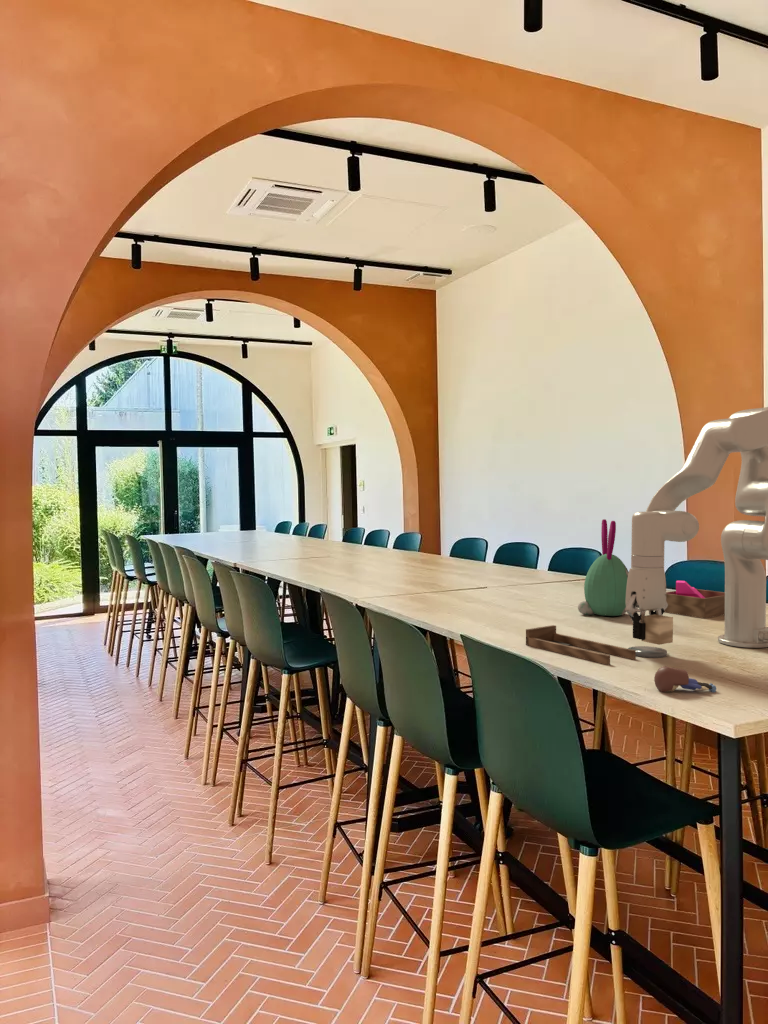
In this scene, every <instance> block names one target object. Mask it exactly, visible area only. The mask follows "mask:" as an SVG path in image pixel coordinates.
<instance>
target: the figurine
mask: <svg viewBox="0 0 768 1024" xmlns="http://www.w3.org/2000/svg"><path fill="white" fill-rule="evenodd" d="M653 681H654V685H655V687H656V689H657V690H658V691H660V692H661V693H666V692H668V693H672V692H675V691H676V690H677V688H679V686H680V687H681V688H682V689H683V690H691V691H695V690H702V691H710V692H711V693H716V692H717V686H716V685H715V684H713V683H708V682H707V683H706V682H701V681H698V680H696V678H691V677H690V675H689V673H688V671H687V670H686V669H682V668H675V667H672V666H671V667H670V666H668V665H667V666H666V665H665V666H661V667H659V668H658V670H656V672H655V674H654V680H653Z"/></svg>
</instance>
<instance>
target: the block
mask: <svg viewBox="0 0 768 1024" xmlns="http://www.w3.org/2000/svg"><path fill="white" fill-rule="evenodd" d="M643 623H645V640H641V639H640V640H641V642H645V643H649V644H654V645H665V644H671V643H673V642H674V640H673V639H674V638H673V636H674V617H673V616H667V615H656V614H654V615H649V614H648V615H647V614H646V615H645V617H644V622H643Z"/></svg>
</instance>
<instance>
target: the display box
mask: <svg viewBox="0 0 768 1024" xmlns="http://www.w3.org/2000/svg"><path fill="white" fill-rule="evenodd" d="M696 589H697V590H698V591H699V592H700V593H701V594H702V595H703V596H704V597H705V598H697V597H689V596H682V595H676V590H673V591H666V602H667V604H668V606H667V608H666V609H665V611H664V613H667V614H668V613H669V614H674V615H682V616H687V617H694V618H701V619H709V618H714V617H719V616H725V591H724V592H723V591H716V590H715V591H714V590H709V589H706V590H705V589H698V588H696Z"/></svg>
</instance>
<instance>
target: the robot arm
mask: <svg viewBox="0 0 768 1024" xmlns="http://www.w3.org/2000/svg"><path fill="white" fill-rule="evenodd" d="M732 453H740V457H741V463H740V464H741V466H740V470H739V471H740V472H739V477H738V481H737V486H736V487H737V488H736V493H735V499H734V500H735V501H734V502H735V503H734V504H735V508H736V511H738V512H739V513H741V514H742V515H746V516H752V517H765V519H764V520H763V521H762V520H750V519H749V520H747V519H739V520H734V521H731V522H730V523H728V524H727V525H725V526H724V528H723V529H722V532H721V535H720V544H721V549H722V555H723V561H724V593H725V615H724V634H720V635H718V636H717V642H718V643H720V644H723V645H726V646H731V647H737V648H745V649H746V648H750V649H758V648H759V649H761V648H768V627H767V624H766V623H767V622H766V621H767V619H766V617H767V615H766V613H767V573H766V570H765V567H764V565H763V562H762V561H761V560H766V561H768V406H767V407H765V406H764V407H757V408H756V407H755V408H749V409H748V408H747V409H742V410H739V411H736V412H734V413H732V414H731V415H730V416H729V417H728V418H720V419H715V420H710V421H708V422H707V423H705V424H704V426H703V427H702V428H701V430H700V431H699V433H698V435H697V438H696V440H695V442H694V444H693V445H692V447H691V449H690V451H689V454H688V455H687V457H686V458H685V459H686V460H685V461H684V464H683V466H682V467H681V469H680V470H679V471H678V472H677V473H675V474H674V475H673V476H672V477H670V479H668V480H667V481H666V482H665V483H664V484H663V485H662V486H661V487H660V488H659V489H658V490H657V491H656V492H655V494H654V495H653V496H652V498H651V500H650V501H649V504H648V506H647V508H646V509H645V511H636V512H634V513H633V514H632V516H631V549H630V550H631V553H630V554H631V556H630V557H631V558H630V566H631V567H630V568H629V570H628V572H629V573H628V579H627V587H626V608H625V611H626V613H627V615H629V617H630V618H631V619H630V621H631V622H632V639H636V640H645V623H643V622H644V617H645V616H646V612H647V611H648V615H654V614H656V615H662V616H664V614H665V612H664V611H665V609H666V608H667V606H668V604H667V602H666V592H667V581H666V579H667V578H666V573H665V542H666V541H668V542H674V543H675V542H677V543H681V542H682V543H684V542H689V541H691V540H692V539H694V538H696V536H697V534H698V533H699V530H700V524H699V520H698V518H697V517H696V516H695V515H694V514H692V513H691V512H688V511H684V510H677V508H678V507H679V506H680V505H681V504H682V503H683V502H684V501H686V500H688V499H689V498H691V497H692V496H695V495H697V494H699V493H701V492H703V491H705V490H707V489H709V488H711V487H713V485H714V484H716V482H717V481H718V478H719V476H720V474H721V471H722V470H723V467H724V466H725V463H726V461H727V459H728V458H729V455H730V454H732Z"/></svg>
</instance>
